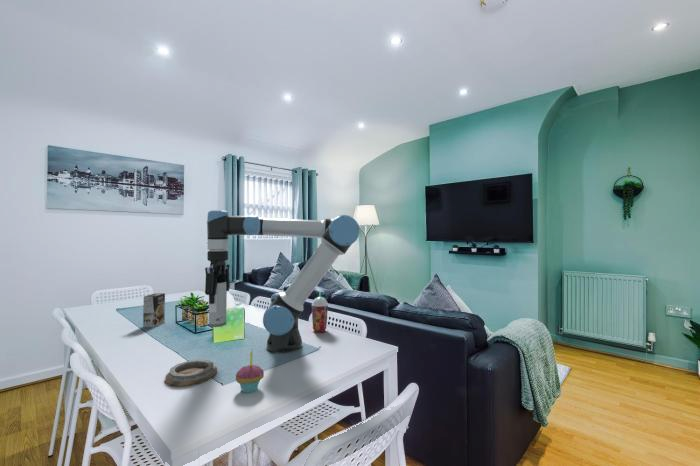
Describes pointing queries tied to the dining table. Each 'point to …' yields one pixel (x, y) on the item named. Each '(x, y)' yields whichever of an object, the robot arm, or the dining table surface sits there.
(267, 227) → the robot arm
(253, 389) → the cupcake
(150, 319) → the coffee box
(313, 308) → the smoothie
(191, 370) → the plate
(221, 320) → the travel mug
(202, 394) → the dining table surface
